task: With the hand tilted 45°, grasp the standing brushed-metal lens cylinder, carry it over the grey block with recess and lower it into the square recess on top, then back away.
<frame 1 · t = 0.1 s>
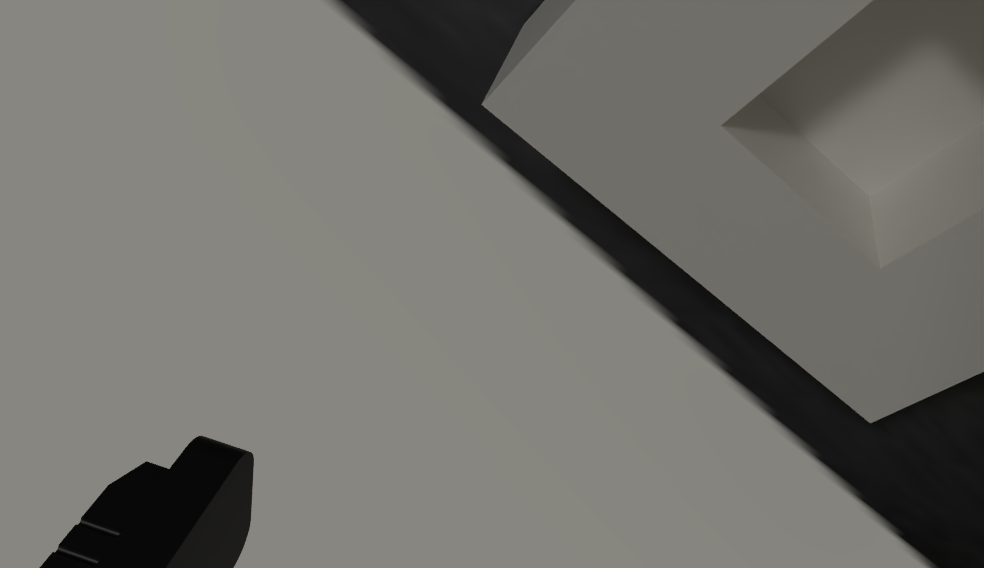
grey block with recess: (886, 34, 27), on the counter
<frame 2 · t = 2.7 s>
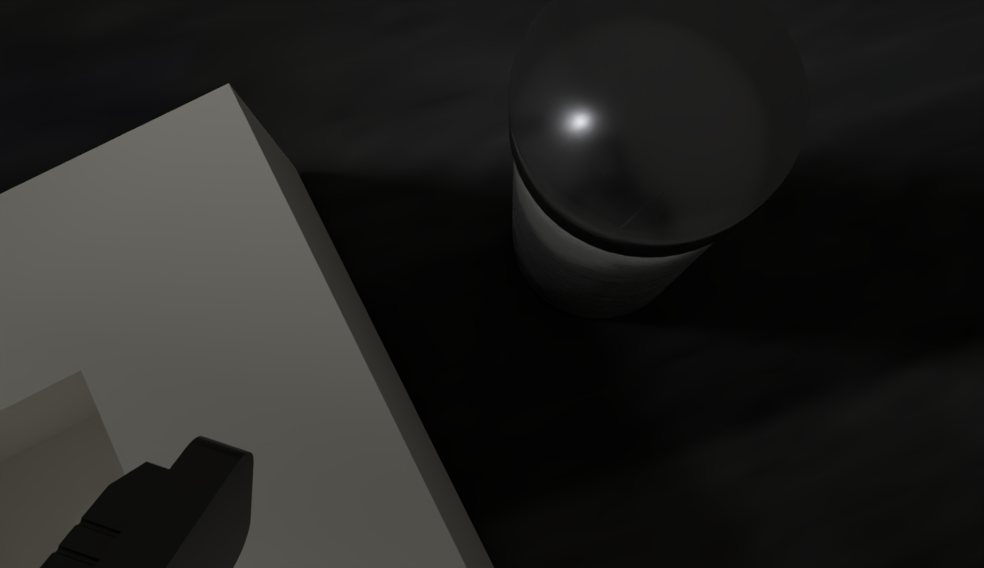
lens: (597, 234, 24), on the counter
grey block with recess: (122, 559, 23), on the counter
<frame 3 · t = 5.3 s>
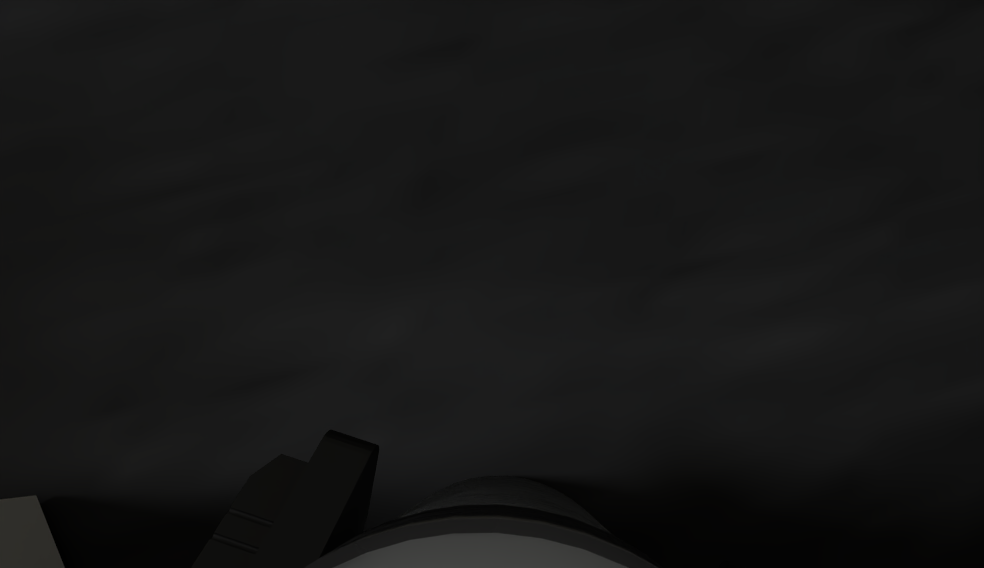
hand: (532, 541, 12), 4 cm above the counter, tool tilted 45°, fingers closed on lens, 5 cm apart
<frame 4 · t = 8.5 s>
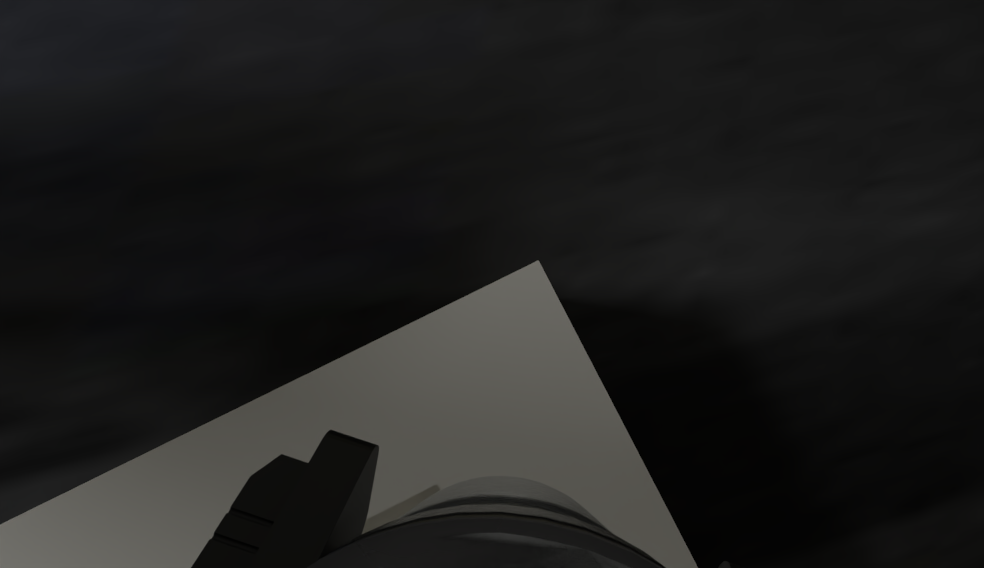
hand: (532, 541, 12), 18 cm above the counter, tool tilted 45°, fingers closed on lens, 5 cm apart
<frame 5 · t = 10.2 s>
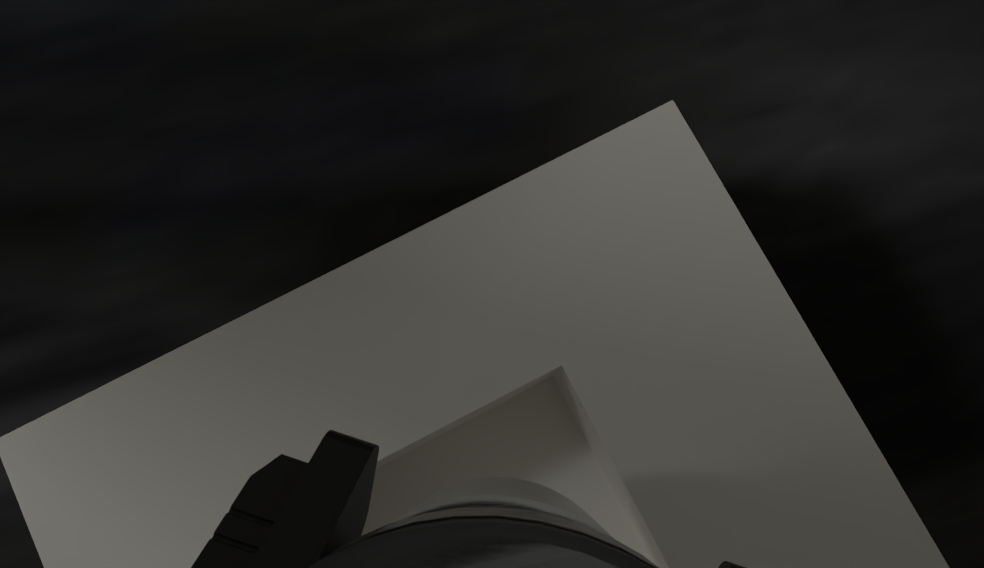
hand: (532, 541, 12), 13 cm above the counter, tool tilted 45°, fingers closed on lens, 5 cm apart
grey block with recess: (499, 542, 24), on the counter
when the fingers open (8 cm above the counter, at t = 11.8 s): lens drops 2 cm, resting on grey block with recess.
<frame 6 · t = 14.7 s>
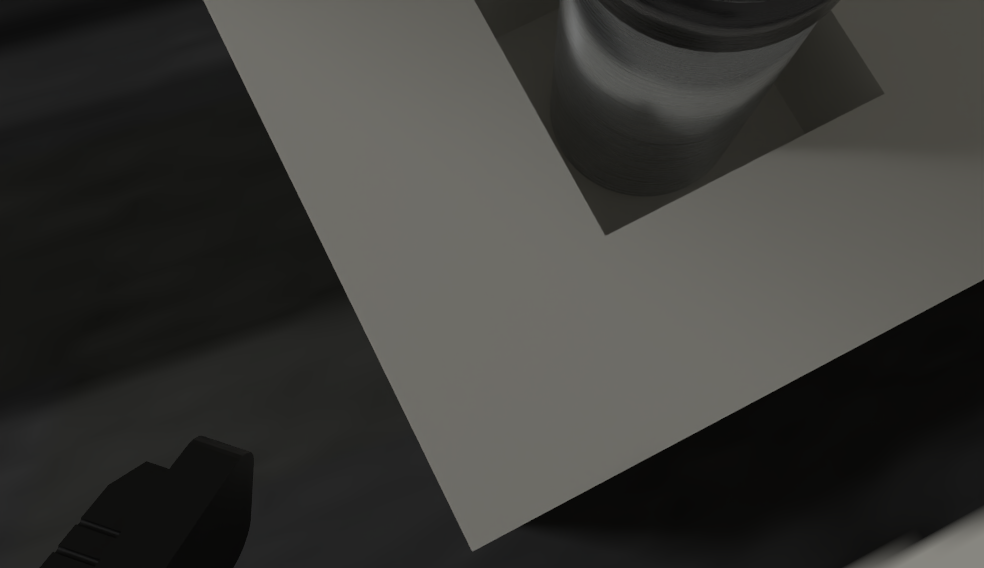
lens: (642, 107, 22), point 2 cm above the counter, touching grey block with recess
grey block with recess: (629, 129, 24), on the counter
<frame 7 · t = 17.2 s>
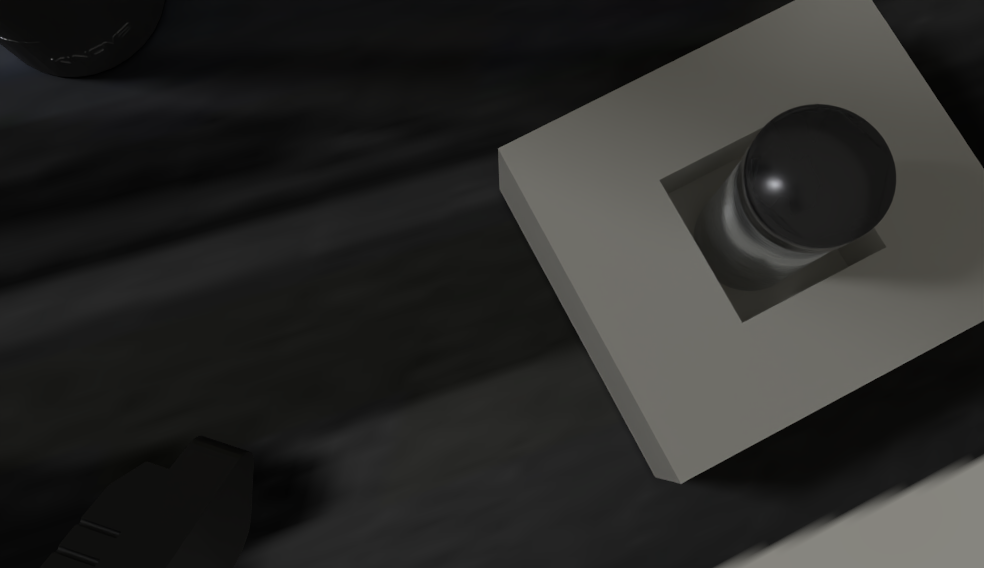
lens: (746, 238, 39), point 2 cm above the counter, touching grey block with recess
grey block with recess: (734, 245, 41), on the counter
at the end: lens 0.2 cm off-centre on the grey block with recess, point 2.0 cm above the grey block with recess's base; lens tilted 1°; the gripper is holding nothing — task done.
